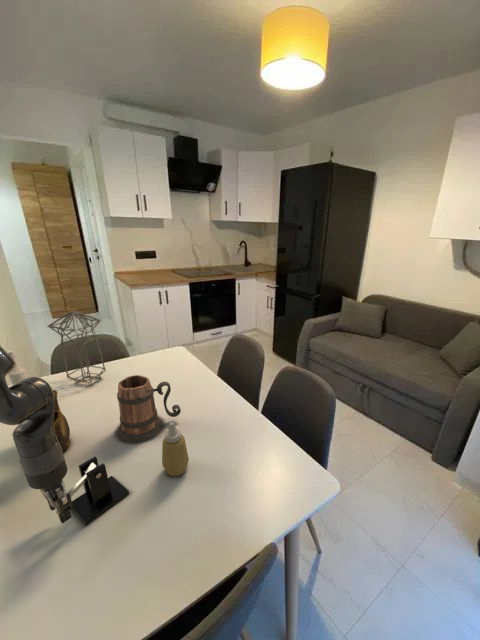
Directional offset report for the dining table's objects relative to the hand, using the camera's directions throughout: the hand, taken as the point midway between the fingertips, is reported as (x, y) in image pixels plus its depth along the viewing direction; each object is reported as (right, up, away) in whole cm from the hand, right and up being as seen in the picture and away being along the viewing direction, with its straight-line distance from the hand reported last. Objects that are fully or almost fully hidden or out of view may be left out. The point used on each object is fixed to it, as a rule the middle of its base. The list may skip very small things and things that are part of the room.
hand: (61, 513), depth 72 cm
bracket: (+5, -1, +9) cm, 10 cm away
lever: (+3, +5, +3) cm, 7 cm away
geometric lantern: (-33, +25, +66) cm, 79 cm away
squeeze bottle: (+23, +3, +20) cm, 30 cm away
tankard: (+7, +11, +39) cm, 41 cm away
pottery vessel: (-20, +7, +26) cm, 34 cm away
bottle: (-45, +17, +46) cm, 67 cm away
